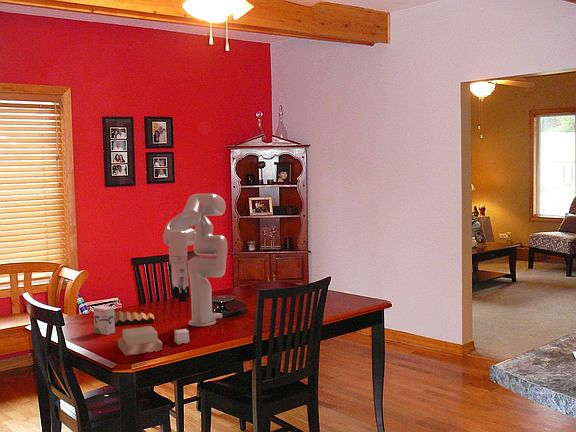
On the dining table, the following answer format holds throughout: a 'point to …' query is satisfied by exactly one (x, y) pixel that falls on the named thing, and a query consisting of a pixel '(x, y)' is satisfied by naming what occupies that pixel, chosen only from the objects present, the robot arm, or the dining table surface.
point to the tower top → (140, 335)
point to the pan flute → (132, 318)
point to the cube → (181, 336)
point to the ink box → (104, 320)
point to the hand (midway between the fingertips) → (180, 299)
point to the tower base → (139, 347)
